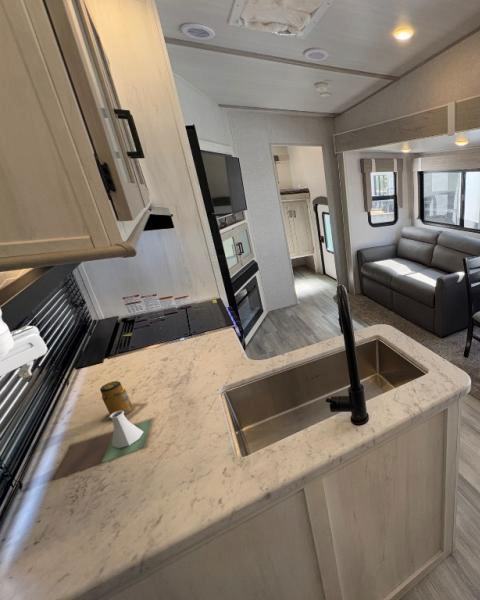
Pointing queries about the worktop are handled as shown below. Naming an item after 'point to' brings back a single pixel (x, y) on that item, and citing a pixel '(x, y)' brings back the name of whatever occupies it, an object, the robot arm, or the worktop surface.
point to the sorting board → (98, 451)
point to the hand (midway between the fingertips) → (3, 388)
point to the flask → (123, 430)
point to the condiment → (116, 398)
